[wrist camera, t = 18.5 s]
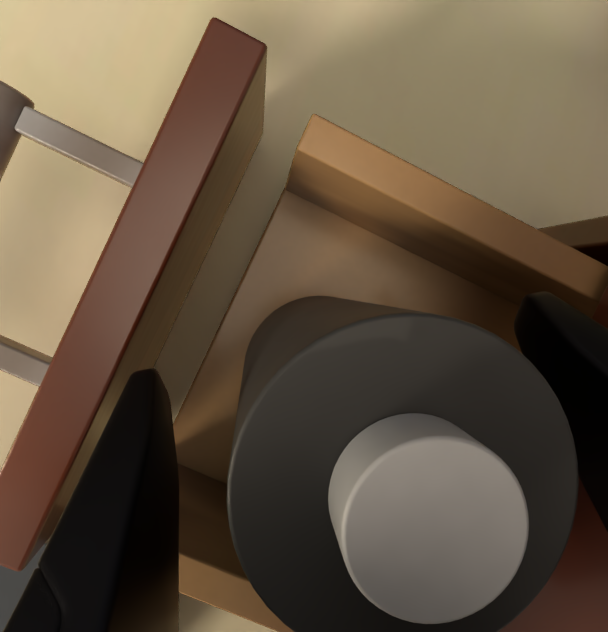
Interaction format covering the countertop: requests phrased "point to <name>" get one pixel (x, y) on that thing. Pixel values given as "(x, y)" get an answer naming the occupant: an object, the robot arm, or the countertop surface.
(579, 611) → the cabinet
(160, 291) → the drawer
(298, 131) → the countertop surface
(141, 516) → the robot arm
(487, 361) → the pepper mill
